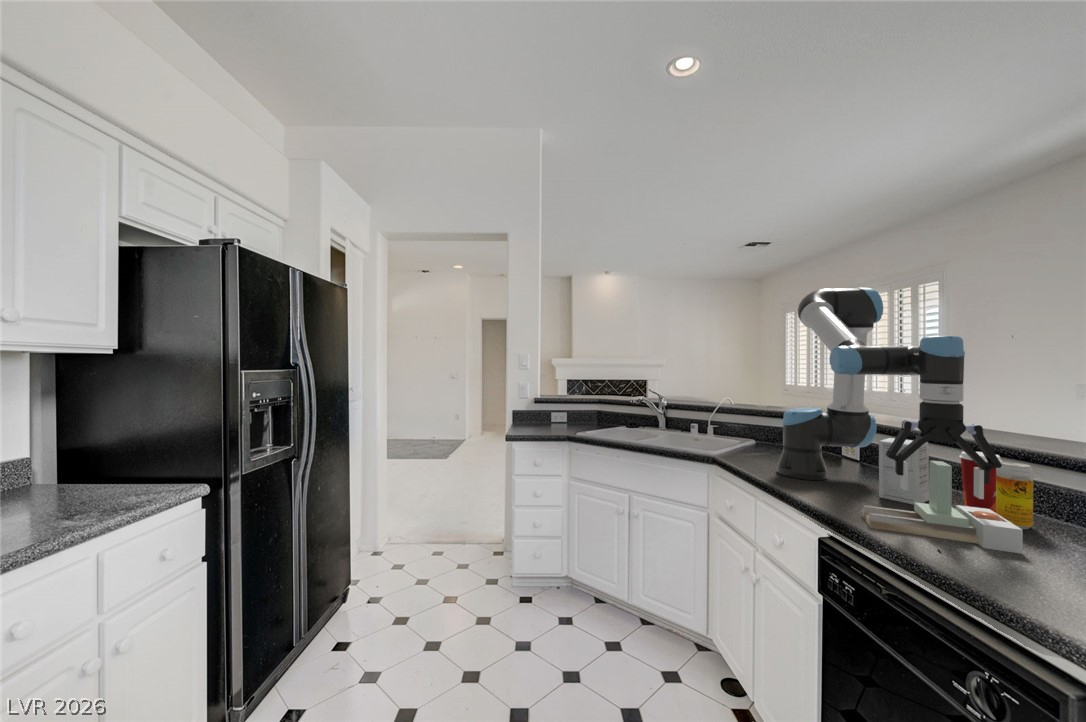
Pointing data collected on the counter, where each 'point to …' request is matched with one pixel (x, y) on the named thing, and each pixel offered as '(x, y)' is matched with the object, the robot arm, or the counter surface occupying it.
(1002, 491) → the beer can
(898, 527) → the rail track
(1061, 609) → the counter surface
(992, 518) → the button
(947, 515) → the stand
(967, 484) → the coffee cup
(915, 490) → the supplement box
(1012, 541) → the white rectangular block
